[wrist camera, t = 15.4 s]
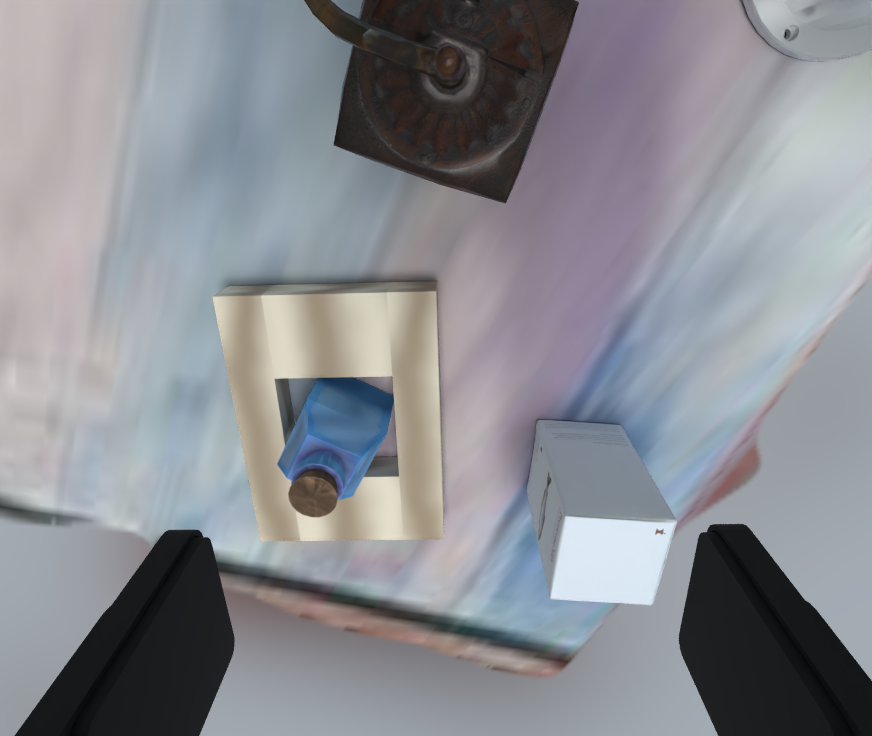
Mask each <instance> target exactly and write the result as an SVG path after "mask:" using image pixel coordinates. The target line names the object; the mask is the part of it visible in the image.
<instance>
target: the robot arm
mask: <svg viewBox="0 0 872 736" xmlns="http://www.w3.org/2000/svg"><path fill="white" fill-rule="evenodd" d="M743 3H744V6H745V9H746V12H747V14H748V17H749V19H750V20H751V22H752V23H753V25H754V27H755V28H756V30H757V32H758V33H759V34H760V35H761V36H762V37H763V38H764V39H765V40H766V41H767V42H768V43H769V44H770V45H771V46H772V47H774V48H776V49H777V50H779V51H780V52H782V53H784V54H785V55H788V56H791V57H794V58H798V59H801V60H807V61H821V62H822V61H829V60H836V59H843V58H846V57H850V56H854V55H859V54H862V53H864V52H866V51H868V50H871V49H872V0H743ZM785 31H786V33H787V36H786V38H784V32H785ZM679 644H680V650H681V653H682V656H683V659H684V661H685V663H686V665H687V667H688V670H689V672H690V674H691V676H692V679H693V681H694V683H695V685H696V687H697V689H698V692H699V694H700V696H701V699H702V701H703V703H704V705H705V707H706V709H707V712H708V714H709V716H710V718H711V721H712V723H713V725H714V727H715V730H716V732H717V734H718V736H872V681H871V679H870V678H869V677H868V676H867V674H866V673H865V672H864V671H863V669H862V668H861V667H860V665H859V664H858V663H857V662H856V660H855V659H854V658H853V656H852V655H851V654H850V653H849V651H848V650H847V649H846V647H845V646H844V645H843V644H842V642H841V641H840V640H839V638H838V637H837V636H836V635H835V633H834V632H833V631H832V629H831V628H830V627H829V626H828V624H827V623H826V622H825V620H824V619H823V618H822V617H821V615H820V614H819V613H818V612H817V610H816V609H815V608H814V607H813V606H812V605H811V604H810V603H809V602H807V601H805V600H804V599H803V597H802V596H801V595H800V593H799V592H798V591H797V589H796V588H795V587H794V586H793V584H792V583H791V582H790V580H789V579H788V578H787V576H786V575H785V574H784V573H783V571H782V570H781V569H780V568H779V566H778V565H777V563H776V562H775V561H774V560H773V558H772V557H771V556H770V554H769V553H768V552H767V551H766V549H765V548H764V547H763V545H762V544H761V543H760V541H759V540H758V539H757V538H756V536H755V535H754V534H753V532H752V531H751V530H750V529H749V528H748V527H747V526H746V525H744V524H714V525H710V527H709V528H708V530H707V532H703V533H701V534H700V535H699V538H698V543H697V548H696V553H695V558H694V563H693V568H692V573H691V578H690V583H689V588H688V593H687V598H686V603H685V608H684V613H683V618H682V623H681V628H680V633H679ZM233 651H234V634H233V630H232V625H231V621H230V617H229V613H228V609H227V605H226V601H225V597H224V592H223V588H222V584H221V580H220V576H219V572H218V568H217V564H216V559H215V555H214V551H213V547H212V543H211V540H210V539H209V538H207V537H203V535H202V533H201V532H200V531H199V530H168V531H166V532H165V533H164V534H163V535H162V536H161V537H160V539H159V540H158V542H157V543H156V544H155V546H154V547H153V549H152V550H151V551H150V553H149V554H148V556H147V557H146V558H145V560H144V561H143V562H142V564H141V565H140V567H139V568H138V569H137V571H136V572H135V574H134V575H133V576H132V578H131V579H130V580H129V582H128V583H127V585H126V586H125V588H124V589H123V590H122V592H121V593H120V595H119V596H118V597H117V599H116V600H115V601H114V603H113V604H112V605H111V606H110V607H109V608H108V609H107V610H106V611H105V613H103V615H102V616H101V617H100V619H99V620H98V622H97V623H96V624H95V626H94V627H93V628H92V630H91V631H90V633H89V634H88V635H87V637H86V638H85V640H84V641H83V642H82V644H81V645H80V646H79V648H78V649H77V651H76V652H75V653H74V655H73V656H72V657H71V659H70V660H69V662H68V663H67V665H66V666H65V667H64V669H63V670H62V671H61V673H60V674H59V675H58V677H57V678H56V679H55V681H54V682H53V684H52V685H51V686H50V688H49V689H48V690H47V692H46V693H45V695H44V696H43V697H42V699H41V700H40V702H39V703H38V704H37V706H36V707H35V708H34V710H33V711H32V712H31V714H30V715H29V717H28V718H27V719H26V721H25V722H24V724H23V725H22V726H21V728H20V729H19V730H18V732H17V733H16V735H15V736H199V735H200V732H201V730H202V728H203V725H204V723H205V720H206V718H207V716H208V713H209V711H210V708H211V706H212V704H213V701H214V699H215V696H216V694H217V692H218V689H219V687H220V684H221V682H222V680H223V677H224V675H225V672H226V670H227V668H228V665H229V663H230V660H231V658H232V655H233Z"/></svg>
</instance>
